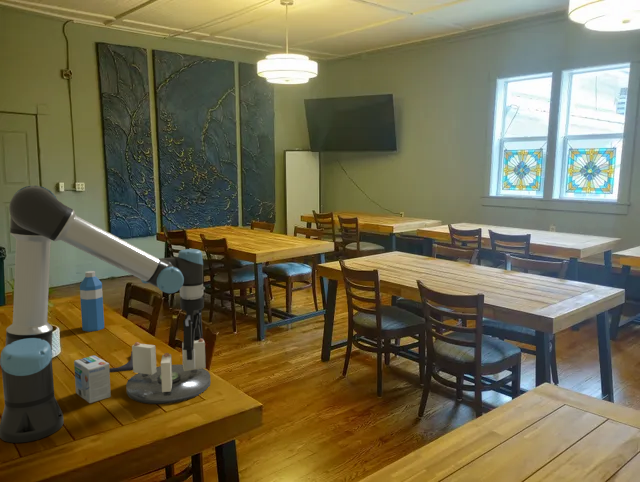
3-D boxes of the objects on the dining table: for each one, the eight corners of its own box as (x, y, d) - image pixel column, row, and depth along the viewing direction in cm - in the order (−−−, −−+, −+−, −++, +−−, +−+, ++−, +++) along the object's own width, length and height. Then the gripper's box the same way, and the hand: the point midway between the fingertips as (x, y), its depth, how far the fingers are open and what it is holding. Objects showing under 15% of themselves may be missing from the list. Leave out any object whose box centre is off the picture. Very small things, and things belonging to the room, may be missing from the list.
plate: (171, 411, 150) (170, 398, 149) (108, 393, 162) (107, 380, 161) (226, 378, 173) (226, 367, 172) (167, 365, 185) (167, 354, 184)
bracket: (153, 355, 196) (153, 348, 196) (152, 369, 182) (152, 362, 182) (113, 359, 192) (112, 352, 192) (108, 374, 178) (108, 366, 178)
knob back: (156, 375, 170) (155, 342, 168) (151, 378, 167) (150, 345, 166) (138, 372, 172) (136, 340, 170) (133, 375, 169) (131, 343, 168)
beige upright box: (184, 374, 171) (183, 342, 169) (183, 371, 173) (181, 339, 171) (205, 371, 173) (204, 339, 172) (204, 368, 176) (203, 337, 174)
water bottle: (99, 331, 222) (96, 274, 218) (77, 331, 222) (74, 274, 218) (108, 324, 231) (105, 269, 227) (87, 324, 231) (84, 269, 227)
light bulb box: (75, 393, 162) (72, 360, 160) (96, 386, 167) (94, 354, 165) (90, 404, 154) (87, 369, 153) (112, 396, 159) (110, 363, 158)
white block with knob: (171, 395, 155) (169, 359, 154) (162, 396, 155) (160, 360, 153) (172, 385, 162) (171, 351, 160) (163, 386, 161) (162, 352, 160)
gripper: (195, 304, 160) (197, 376, 163) (210, 289, 179) (212, 353, 182) (170, 304, 160) (173, 375, 163) (189, 289, 179) (191, 353, 183)
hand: (194, 363), depth 173 cm, fingers open, 7 cm apart
